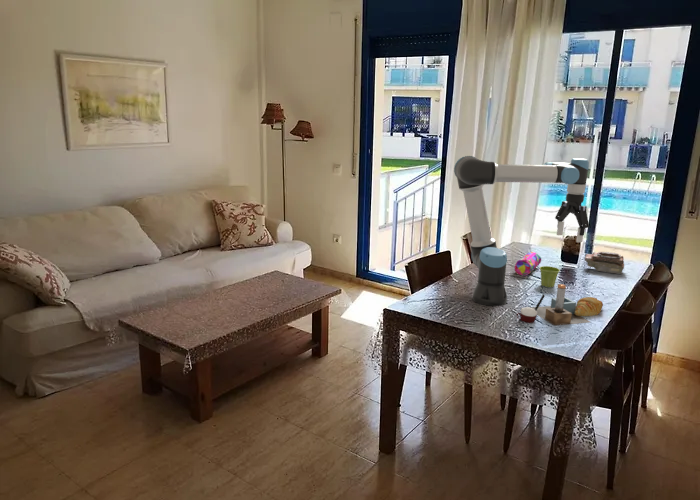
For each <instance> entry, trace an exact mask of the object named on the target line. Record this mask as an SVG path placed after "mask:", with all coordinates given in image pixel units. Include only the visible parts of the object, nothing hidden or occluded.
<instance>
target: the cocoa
mask: <svg viewBox="0 0 700 500" xmlns="http://www.w3.org/2000/svg"><path fill="white" fill-rule="evenodd" d="M545 297H546V295H545V294H542V295H541V297H540V299H539V300H538V302H537V304H536V306H535V309H533V308H532V307H530V306H526V307H521V309H520V312H518V313H516V318H517V319H518V320H519V321H521V322H523V323H526V324H532V323H535V321H536V319H537V316H538V315H537V311H536V310H537V309H538V307H540V305H541V304H542V302H543V300H544V298H545ZM518 316H520V317H518Z"/></svg>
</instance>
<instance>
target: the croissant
mask: <svg viewBox="0 0 700 500" xmlns="http://www.w3.org/2000/svg"><path fill="white" fill-rule="evenodd" d="M603 306H604V304H603V301H601V300H599V299H598V298H596V297H593V296H592V297H591V296H585V297H581V298H580V299H578V300H577V302H576V309H575V311H574V314H575V315H576V316H581V317H593V316H598V315H600V313H601V311H602V310H603Z"/></svg>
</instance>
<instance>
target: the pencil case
mask: <svg viewBox="0 0 700 500" xmlns="http://www.w3.org/2000/svg"><path fill="white" fill-rule="evenodd" d="M541 263H542V257H541V256H540V255H539V254H538V253H537V252H535V251H529V252H527V253H526V254H525V255H524V256H523V257H522V258H520V259H519V260H517V261H516V262H515V265H514V271H515V273H516V274H517V275H518V276H523V275H524V276H525V277H526V276H528V275H530V273H532V272H533V271H534V270H535V269H536V268H537V267H538V266H539V265H540V264H541Z"/></svg>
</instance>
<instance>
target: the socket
mask: <svg viewBox="0 0 700 500" xmlns="http://www.w3.org/2000/svg"><path fill="white" fill-rule="evenodd" d="M555 305H556V297H551V301H550V306H551V308H555ZM576 305H577V302H576V301H574V300H572V299H570V298H569V297H566V296H565V297H564V305H563V309H565V310H567V311H568V312H570V313H572V314H574V311H575V309H576Z"/></svg>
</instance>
